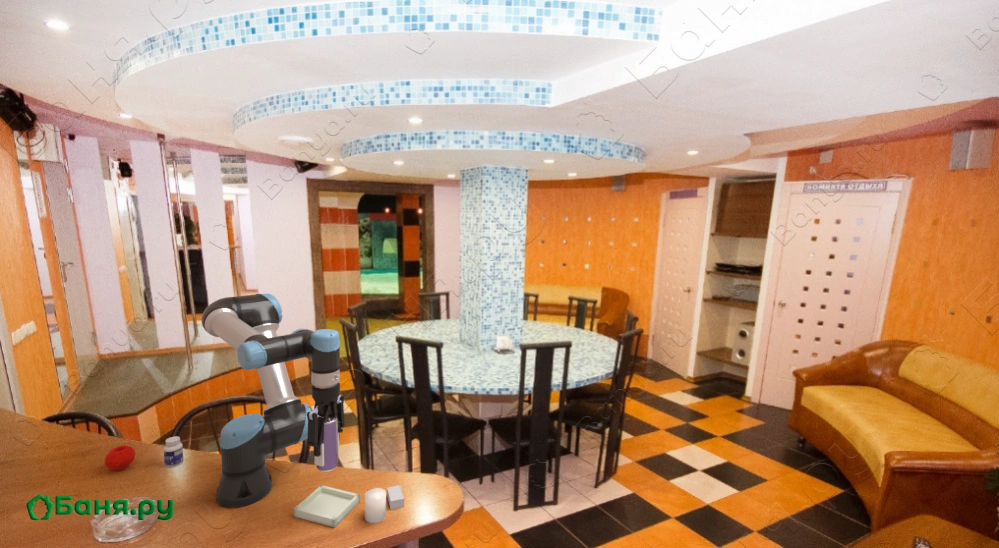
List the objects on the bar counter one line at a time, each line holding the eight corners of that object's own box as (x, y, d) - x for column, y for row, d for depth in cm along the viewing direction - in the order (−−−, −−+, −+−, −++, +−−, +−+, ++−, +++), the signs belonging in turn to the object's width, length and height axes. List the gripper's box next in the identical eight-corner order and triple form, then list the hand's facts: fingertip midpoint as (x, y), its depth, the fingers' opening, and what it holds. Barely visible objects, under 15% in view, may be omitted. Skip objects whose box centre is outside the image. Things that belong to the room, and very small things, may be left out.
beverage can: (331, 474, 126) (330, 424, 124) (312, 471, 127) (311, 422, 125) (342, 462, 131) (341, 415, 129) (324, 459, 133) (323, 413, 131)
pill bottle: (160, 466, 149) (158, 441, 148) (174, 458, 154) (173, 434, 153) (173, 468, 148) (171, 444, 146) (187, 460, 153) (186, 436, 152)
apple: (140, 466, 148) (139, 446, 147) (110, 478, 141) (108, 456, 140) (131, 459, 152) (129, 439, 151) (101, 469, 146) (99, 448, 145)
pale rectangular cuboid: (387, 496, 138) (387, 487, 138) (400, 493, 140) (400, 485, 139) (390, 510, 132) (390, 501, 131) (403, 507, 133) (404, 498, 133)
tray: (293, 516, 127) (293, 508, 127) (321, 491, 139) (321, 484, 138) (334, 527, 123) (334, 520, 123) (359, 501, 135) (359, 494, 134)
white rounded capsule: (360, 520, 127) (360, 498, 126) (372, 507, 132) (372, 486, 131) (378, 525, 125) (378, 502, 124) (389, 512, 131) (389, 490, 130)
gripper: (314, 398, 116) (315, 479, 119) (357, 374, 134) (357, 445, 137) (290, 394, 118) (293, 474, 121) (336, 371, 136) (336, 441, 139)
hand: (327, 458), depth 129 cm, fingers closed on beverage can, 6 cm apart
